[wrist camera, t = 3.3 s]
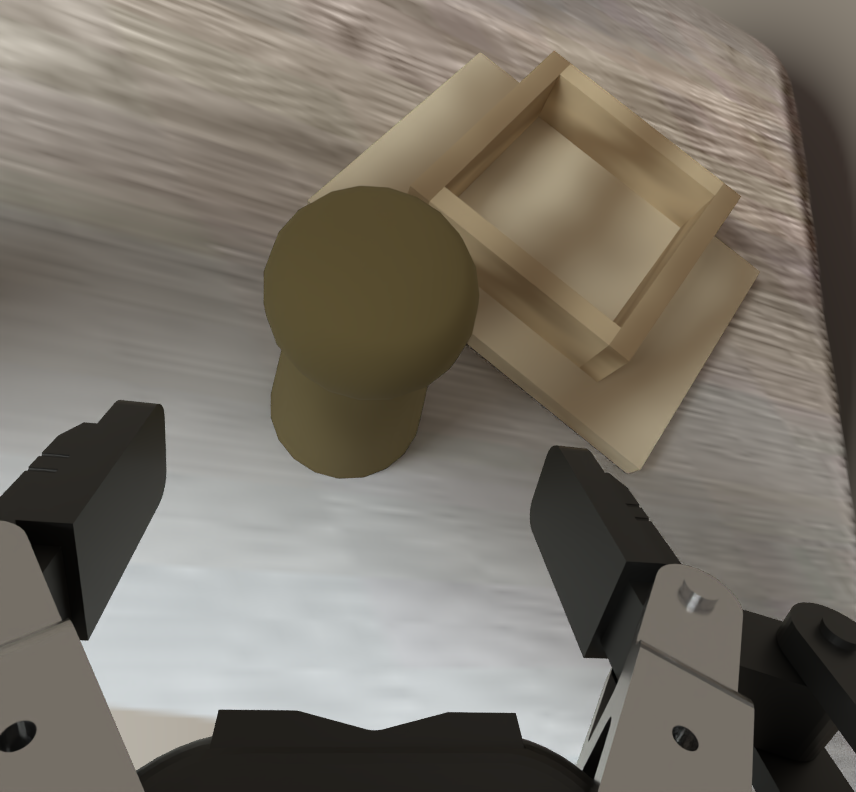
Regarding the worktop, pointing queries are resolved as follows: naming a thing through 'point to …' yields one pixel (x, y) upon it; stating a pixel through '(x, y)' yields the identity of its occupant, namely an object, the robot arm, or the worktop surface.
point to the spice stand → (573, 242)
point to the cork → (363, 324)
